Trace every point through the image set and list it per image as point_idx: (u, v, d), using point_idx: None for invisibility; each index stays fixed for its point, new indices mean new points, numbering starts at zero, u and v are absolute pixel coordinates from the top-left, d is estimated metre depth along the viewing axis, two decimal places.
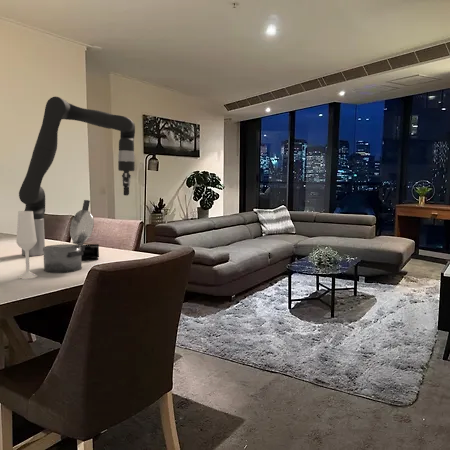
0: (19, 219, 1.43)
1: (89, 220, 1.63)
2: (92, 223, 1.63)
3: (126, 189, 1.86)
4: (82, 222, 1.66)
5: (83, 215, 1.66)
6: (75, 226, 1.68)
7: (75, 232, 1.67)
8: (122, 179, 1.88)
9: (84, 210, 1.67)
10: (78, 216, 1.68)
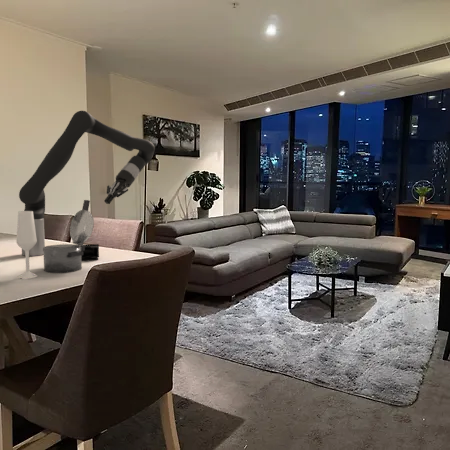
0: (19, 219, 1.43)
1: (89, 220, 1.63)
2: (92, 223, 1.63)
3: (112, 198, 1.77)
4: (82, 222, 1.66)
5: (83, 215, 1.66)
6: (75, 226, 1.68)
7: (75, 232, 1.67)
8: (116, 187, 1.78)
9: (84, 210, 1.67)
10: (78, 216, 1.68)
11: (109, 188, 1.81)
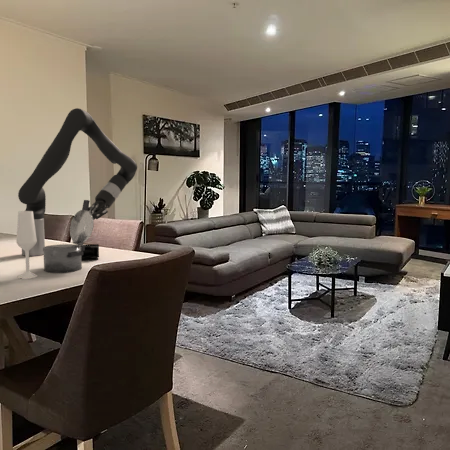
0: (19, 219, 1.43)
1: (89, 220, 1.63)
2: (92, 223, 1.63)
3: None
4: (82, 222, 1.66)
5: (83, 215, 1.66)
6: (75, 226, 1.68)
7: (75, 232, 1.67)
8: (95, 209, 1.70)
9: (84, 210, 1.67)
10: (78, 216, 1.68)
11: (88, 209, 1.73)
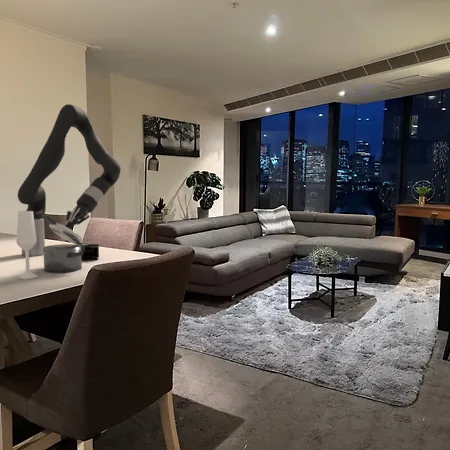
0: (19, 219, 1.43)
1: (68, 232, 1.56)
2: (72, 232, 1.56)
3: (71, 226, 1.61)
4: (63, 232, 1.59)
5: (57, 228, 1.57)
6: (61, 234, 1.63)
7: (66, 238, 1.64)
8: (76, 214, 1.62)
9: (53, 225, 1.56)
10: (54, 228, 1.60)
11: (69, 214, 1.66)
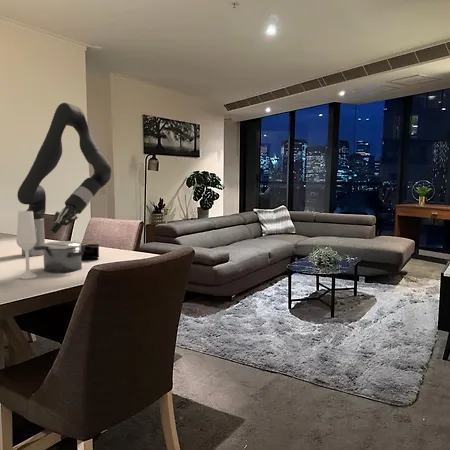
0: (19, 219, 1.43)
1: (64, 248, 1.55)
2: (68, 247, 1.55)
3: (59, 227, 1.57)
4: None
5: None
6: None
7: None
8: (64, 214, 1.58)
9: (47, 248, 1.55)
10: None
11: (57, 215, 1.62)
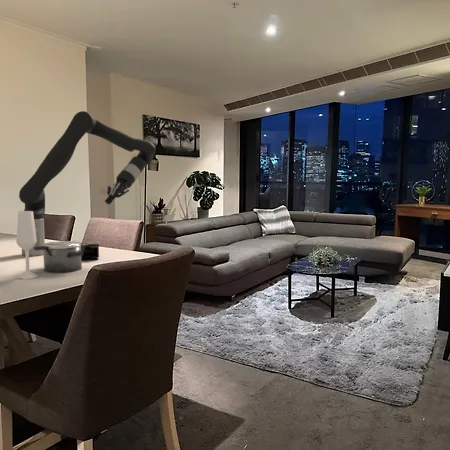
0: (19, 219, 1.43)
1: (64, 248, 1.55)
2: (68, 247, 1.55)
3: (112, 198, 1.77)
4: None
5: None
6: None
7: None
8: (117, 188, 1.78)
9: (47, 248, 1.55)
10: None
11: (110, 188, 1.82)
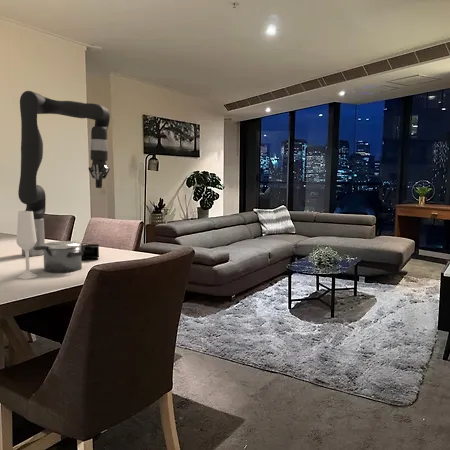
0: (19, 219, 1.43)
1: (64, 248, 1.55)
2: (68, 247, 1.55)
3: (101, 182, 1.85)
4: None
5: None
6: None
7: None
8: (98, 171, 1.82)
9: (47, 248, 1.55)
10: None
11: (91, 170, 1.86)
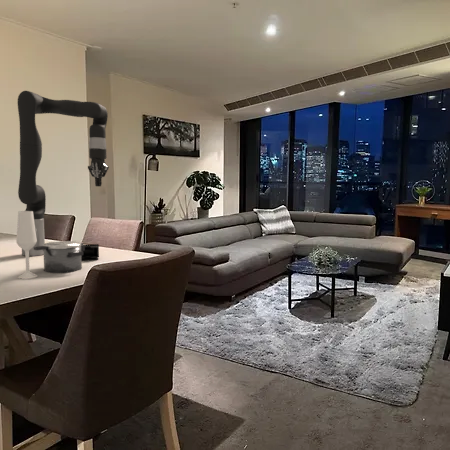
0: (19, 219, 1.43)
1: (64, 248, 1.55)
2: (68, 247, 1.55)
3: (100, 180, 1.84)
4: None
5: None
6: None
7: None
8: (97, 169, 1.82)
9: (47, 248, 1.55)
10: None
11: (91, 169, 1.86)
